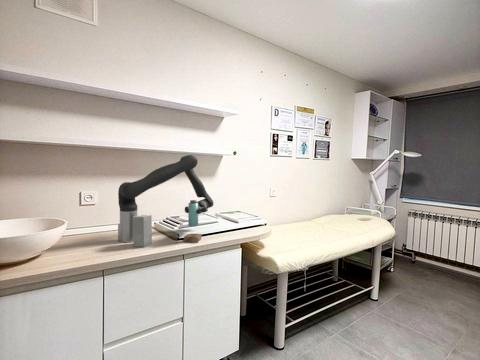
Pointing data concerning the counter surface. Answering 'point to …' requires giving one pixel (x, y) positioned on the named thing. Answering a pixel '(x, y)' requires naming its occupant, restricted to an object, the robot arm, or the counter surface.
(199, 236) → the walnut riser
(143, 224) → the skincare box
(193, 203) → the teal bottle
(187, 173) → the robot arm
